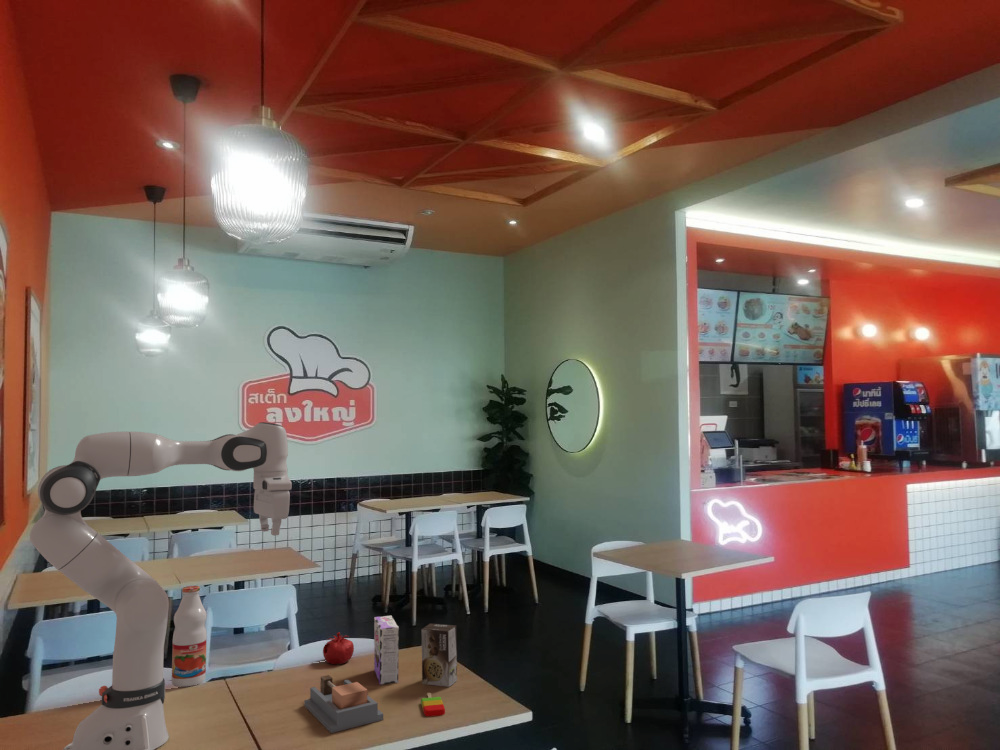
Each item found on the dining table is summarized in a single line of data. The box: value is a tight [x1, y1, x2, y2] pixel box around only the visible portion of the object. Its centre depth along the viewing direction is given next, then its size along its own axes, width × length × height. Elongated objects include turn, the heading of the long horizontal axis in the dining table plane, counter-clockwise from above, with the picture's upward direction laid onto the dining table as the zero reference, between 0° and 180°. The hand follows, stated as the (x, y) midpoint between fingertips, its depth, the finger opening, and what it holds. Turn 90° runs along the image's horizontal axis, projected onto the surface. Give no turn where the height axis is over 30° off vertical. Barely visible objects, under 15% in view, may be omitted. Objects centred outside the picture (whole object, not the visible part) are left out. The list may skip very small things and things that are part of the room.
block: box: [319, 674, 368, 710], centre depth 187 cm, size 7×23×7 cm, turn 33°
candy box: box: [373, 615, 400, 685], centre depth 212 cm, size 14×6×16 cm, turn 17°
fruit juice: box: [171, 585, 208, 688], centre depth 210 cm, size 9×9×28 cm
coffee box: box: [420, 623, 458, 688], centre depth 207 cm, size 9×6×16 cm
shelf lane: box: [303, 679, 384, 734], centre depth 184 cm, size 14×21×4 cm, turn 34°
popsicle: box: [420, 692, 446, 717], centre depth 189 cm, size 6×15×2 cm, turn 13°
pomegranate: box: [322, 632, 355, 665], centre depth 226 cm, size 10×10×9 cm
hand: (269, 533), depth 188 cm, fingers open, 8 cm apart
